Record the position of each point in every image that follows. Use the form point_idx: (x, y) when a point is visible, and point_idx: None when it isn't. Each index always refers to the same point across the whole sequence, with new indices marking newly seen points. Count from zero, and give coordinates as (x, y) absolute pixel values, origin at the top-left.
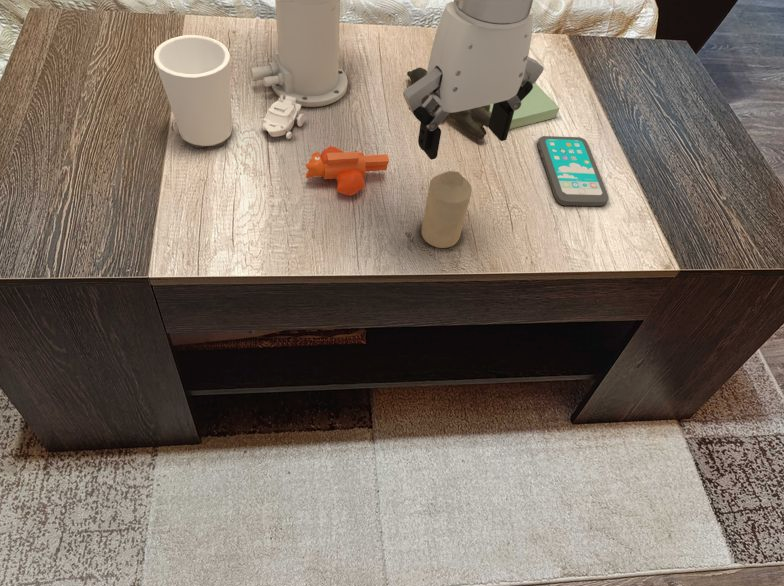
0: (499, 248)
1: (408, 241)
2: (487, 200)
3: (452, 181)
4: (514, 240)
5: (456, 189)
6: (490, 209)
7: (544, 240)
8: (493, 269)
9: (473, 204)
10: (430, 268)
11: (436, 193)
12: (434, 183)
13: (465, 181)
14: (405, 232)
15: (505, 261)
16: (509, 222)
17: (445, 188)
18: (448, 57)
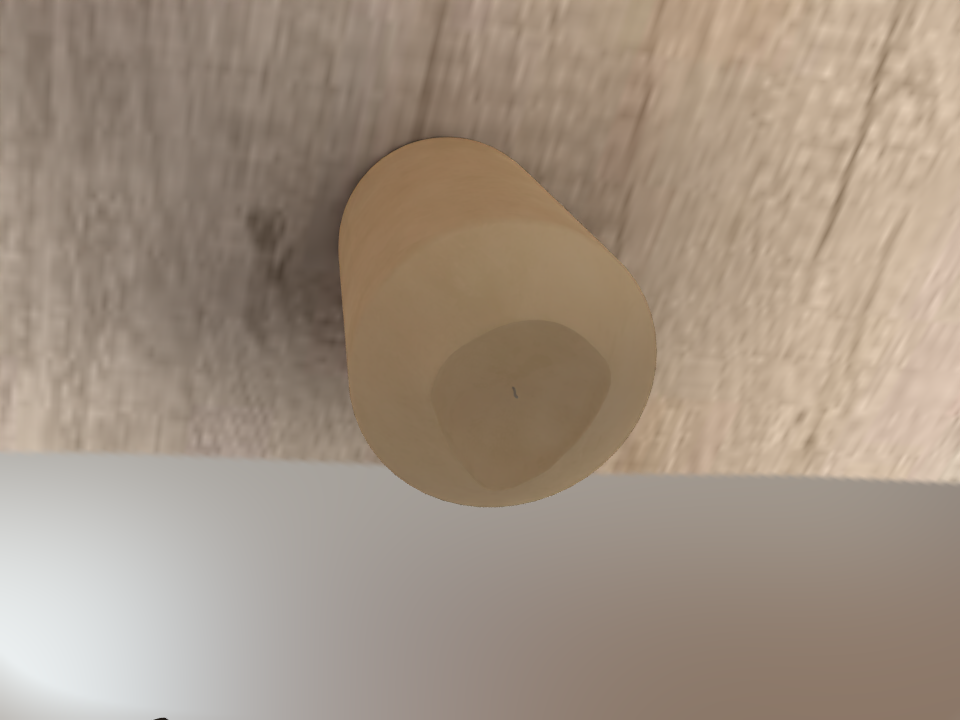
0: (706, 355)
1: (257, 275)
2: (794, 4)
3: (526, 371)
4: (798, 312)
5: (522, 486)
6: (778, 82)
7: (932, 323)
8: (629, 468)
9: (702, 28)
10: (339, 448)
11: (380, 445)
12: (382, 376)
13: (620, 396)
14: (250, 209)
15: (700, 429)
16: (832, 192)
17: (445, 469)
18: None
